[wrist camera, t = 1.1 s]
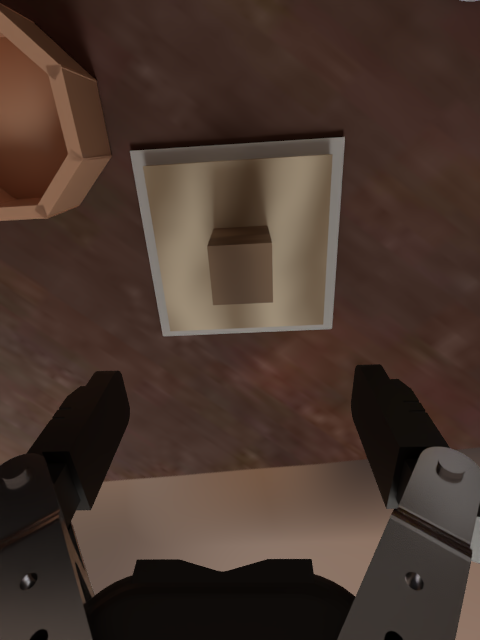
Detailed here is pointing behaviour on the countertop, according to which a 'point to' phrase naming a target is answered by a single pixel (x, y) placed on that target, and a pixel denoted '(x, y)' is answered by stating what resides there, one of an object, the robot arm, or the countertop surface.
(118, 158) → the countertop surface
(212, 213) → the lid
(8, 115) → the bowl
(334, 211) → the mat
